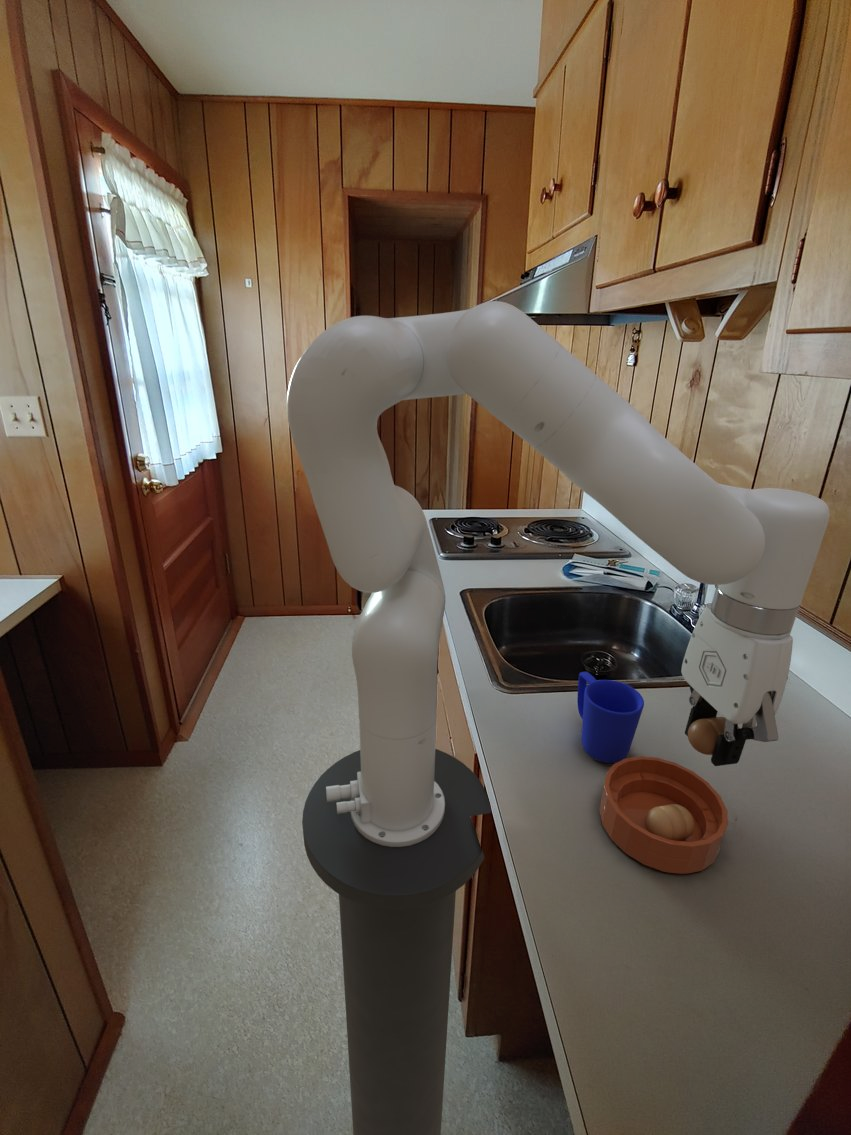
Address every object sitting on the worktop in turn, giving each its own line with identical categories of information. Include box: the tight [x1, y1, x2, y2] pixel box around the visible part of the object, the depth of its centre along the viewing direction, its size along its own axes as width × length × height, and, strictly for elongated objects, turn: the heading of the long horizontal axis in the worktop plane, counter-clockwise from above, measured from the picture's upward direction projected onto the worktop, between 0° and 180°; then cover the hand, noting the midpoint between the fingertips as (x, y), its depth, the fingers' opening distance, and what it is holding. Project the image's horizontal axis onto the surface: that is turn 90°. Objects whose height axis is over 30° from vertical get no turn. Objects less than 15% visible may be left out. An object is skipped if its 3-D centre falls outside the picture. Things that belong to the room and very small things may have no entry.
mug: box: [576, 671, 645, 764], centre depth 83 cm, size 8×12×10 cm
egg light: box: [645, 804, 694, 841], centre depth 68 cm, size 6×4×4 cm, turn 102°
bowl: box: [598, 755, 729, 875], centre depth 69 cm, size 14×14×5 cm
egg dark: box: [687, 716, 740, 756], centre depth 63 cm, size 6×4×4 cm, turn 101°
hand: (710, 747), depth 64 cm, fingers closed on egg dark, 4 cm apart
